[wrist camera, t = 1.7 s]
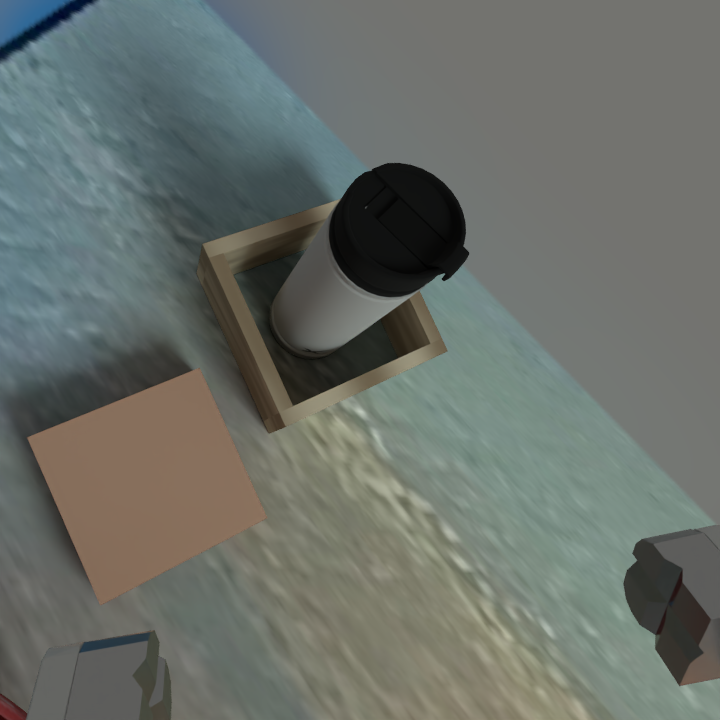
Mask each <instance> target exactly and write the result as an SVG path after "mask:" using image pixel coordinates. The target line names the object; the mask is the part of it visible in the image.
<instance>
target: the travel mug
mask: <svg viewBox="0 0 720 720" xmlns="http://www.w3.org/2000/svg"><path fill="white" fill-rule="evenodd" d="M465 235H466V227H465V219H464V215H463V212H462V209H461V207H460V204H459V202H458V200H457V199H456V197H455V196H454V194H453V193H452V191H451V190H450V189H449V188H448V187H447V186H446V185H445V184H444V183H443V182H442V181H441V180H439V179H438V178H437V177H435V176H434V175H433V174H431V173H429V172H427V171H425V170H424V169H421V168H418V167H415V166H412V165H408V164H401V163H387V164H384V165H381V166H379V167H376V168H374V169H372V171H368V172H364V173H363V174H362V175H360V176H359V177H358V178H356V179H355V181H354V182H353V183H352V184H351V185H350V187H349V188H348V189H347V191H346V192H345V194H344V195H343V197H342V198H341V199H340V200H339V202H338V203H337V204H336V205H335V207H334V208H333V210H332V211H331V213H330V214H329V216H328V217H327V219H326V220H325V222H324V223H323V225H322V226H321V228H320V230H319V231H318V233H317V234H316V236H315V237H314V239H313V240H312V242H311V243H310V245H309V246H308V248H307V249H306V251H305V252H304V254H303V255H302V257H301V258H300V260H299V261H298V263H297V264H296V266H295V267H294V269H293V270H292V272H291V274H290V275H289V277H288V278H287V280H286V281H285V283H284V284H283V286H282V287H281V289H280V290H279V292H278V293H277V295H276V296H275V298H274V300H273V302H272V304H271V308H270V313H269V321H270V327H271V330H272V333H273V335H274V337H275V339H276V341H277V342H278V343H279V344H280V345H281V347H282V348H284V349H285V350H286V351H287V352H289V353H291V354H293V355H294V356H297V357H300V358H303V359H319V358H322V357H326V356H328V355H330V354H331V353H333V352H334V351H336V350H337V349H339V348H340V347H341V346H343V345H344V344H346V343H347V342H348V341H350V340H351V339H353V338H354V337H355V336H357V335H358V334H360V333H361V332H362V331H364V330H365V329H367V328H368V327H369V326H371V325H372V324H374V323H375V322H376V321H378V320H379V319H381V318H382V317H383V316H385V315H386V314H388V313H389V312H390V311H392V310H393V309H395V308H396V307H397V306H399V305H400V304H402V303H403V302H404V301H406V300H407V299H409V298H410V297H411V296H413V295H414V294H415V293H417V292H418V291H420V290H421V289H422V288H423V287H424V286H425V285H427V284H428V283H429V282H430V281H432V280H433V279H434V278H435V277H436V276H437V275H440V274H443V273H445V276H444V277H443V278H442V280H443V281H445V280H447V279H449V278H450V277H451V276H452V275H453V274H454V273H455V272H456V271H457V270H458V269H459V268H460V267H461V265H462V264H463V263H464V262H465V260H466V259H467V257H468V255H469V252H468V251H467V250H466V249H465V248H464V247H463V245H464V241H465Z"/></svg>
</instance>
